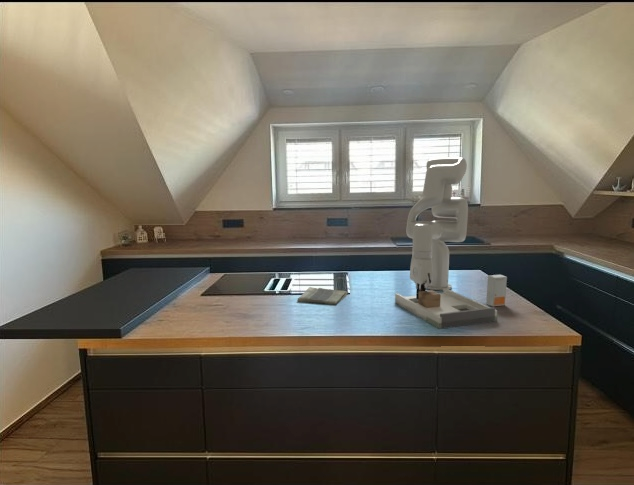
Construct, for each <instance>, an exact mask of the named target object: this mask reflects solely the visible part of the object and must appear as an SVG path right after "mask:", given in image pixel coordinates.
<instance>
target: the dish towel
mask: <svg viewBox="0 0 634 485" xmlns="http://www.w3.org/2000/svg"><path fill="white" fill-rule="evenodd" d="M348 294H349V292H348V291H346V290H338V289H336V290H335V289H331V288H330V289H328V288H323V287H319V288H316V287H311V286H310V287H308V288H307V289H306V290H305V291H304V292H303V293H302V294H301V295H300V296H299V297H298V298H297V303H305V304H307V303H308V304H316V305H327V306H328V305H329V306H337V305H338V304H339V303H341V302H342V301H343V300H344V299H345V298H346V297H347V296H348Z"/></svg>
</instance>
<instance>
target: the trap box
mask: <svg viewBox="0 0 634 485" xmlns="http://www.w3.org/2000/svg"><path fill="white" fill-rule="evenodd" d="M439 293H440V294H441V297H440V307H431V308H425V307H424V306H422V305H420V304H418V299H417V298H416V295H411V296H404V295H401V294H400V293H399V292H397V293H394V297H395V298H394V303H395V304H397V305H398V306H400V307H401V308H402V309H405V310H406V311H408V312H410V313H412V314H413V315H415V316H417V317H418V318H419V319H422V320H423V321H425V322H426V323H428V324H430V325H431V326H433V327H435V328H437V329H438V330H439V329H440V330H441V329H448V328H454V327H455V328H457V327H463V326H471V325H477V324H485V323H493V322H497V321H498V309H496V307H495V306H491V307H490V306H489V305H487V304H486V305H485V304H484V303H481V302H479V301H477V300H474V299H472V298H469V297H467V296H464V295H462V294H460V293H458V292H455V291H453V290H451V289H449V290H448V289H446V288H443V290H442V292H439Z"/></svg>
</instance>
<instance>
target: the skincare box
mask: <svg viewBox="0 0 634 485" xmlns="http://www.w3.org/2000/svg"><path fill="white" fill-rule="evenodd" d="M507 281H508V277H507V276H505V275H503V274H493V275H488V276H487V285H486V286H487V287H486V301H485V303H486V305H487V306H489V307H490V306H491V307H499V306H501V307H502V306H505V305H506V295H507Z"/></svg>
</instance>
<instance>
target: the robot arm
mask: <svg viewBox="0 0 634 485" xmlns="http://www.w3.org/2000/svg"><path fill="white" fill-rule="evenodd" d="M425 167H426V172H425V176H424V183H423V190H422V196H421V198H420V199H419V200H417V201H416V203H415V204H413V205H412V207H411V208H410V210H409V212H408V215H407V221H406V227H405V230H406V231H405V232H406V233H405V234H406V235H407V237H408V238H409V239H412V249H411V251H412V253H411V254H412V256H411V260H410V268H409V279H410V281H412V282H413V283H414V284H415V288H416V292H415V294H416V295H415V296H416V298H417V299H419V291H427V290H433V291H443V288H446V289H448V290H451V289H452V284H450V283H449V270H450V268H449V266H450V249H449V247H448V246H447V244H446V243H447V242H449V243H463V242H464V241H465V240H466V238H467V233H468V232H467V230H468V219H469V218H468V217H469V216H468V215H469V204H468V200H467V199H466V198H464V197H461V196H460V197H459V196H452V195H453V186H455V185H459V184H460V183H461V182H462V180H463V178H464V176H465V174H466V172H467V161H466V159H465V158H464V157H462V156H460V157H459V156H458V157H457V156H456V157H455V156H454V157H435V158H430V159H428V160H427V162H426V165H425ZM430 208H431V214H432V215H433V217H435V218H444V219H456V220H440V219H439V220H437V219H436V220H432V221H431V220H430V221H425V220H417V218H418V216H419V215H420V214H421V213H422V212H423V211H426V210H427V209H430Z"/></svg>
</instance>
